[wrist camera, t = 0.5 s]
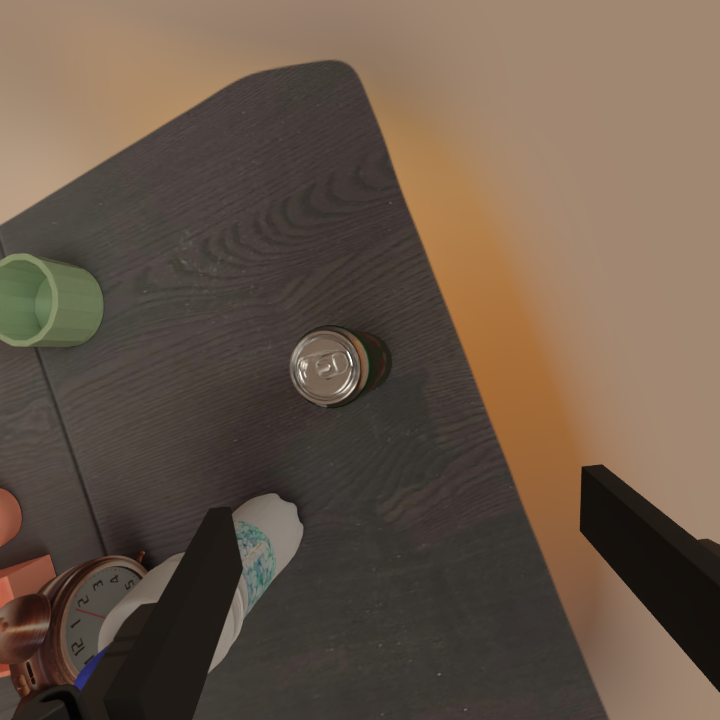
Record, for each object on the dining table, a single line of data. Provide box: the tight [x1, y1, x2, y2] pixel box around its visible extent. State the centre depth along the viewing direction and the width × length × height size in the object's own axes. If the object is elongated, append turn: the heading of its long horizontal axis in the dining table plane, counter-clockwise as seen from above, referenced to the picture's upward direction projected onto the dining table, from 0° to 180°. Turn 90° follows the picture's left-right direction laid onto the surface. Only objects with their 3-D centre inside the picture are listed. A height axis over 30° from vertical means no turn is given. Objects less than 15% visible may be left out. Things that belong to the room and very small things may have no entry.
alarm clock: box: [0, 551, 148, 717], centre depth 33 cm, size 11×5×15 cm, turn 25°
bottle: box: [74, 493, 303, 691], centre depth 27 cm, size 7×7×20 cm
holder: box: [0, 254, 104, 347], centre depth 39 cm, size 8×8×5 cm
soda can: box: [290, 325, 392, 408], centre depth 29 cm, size 5×5×12 cm
